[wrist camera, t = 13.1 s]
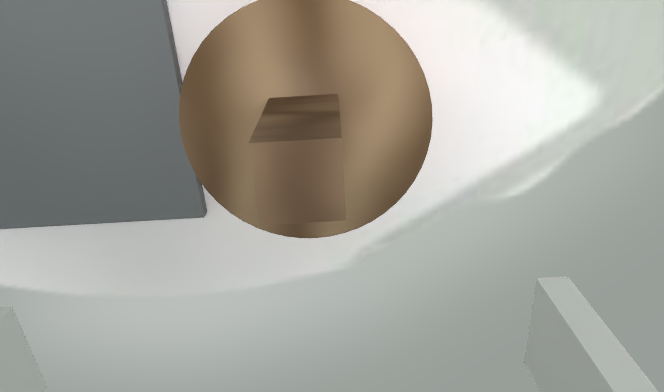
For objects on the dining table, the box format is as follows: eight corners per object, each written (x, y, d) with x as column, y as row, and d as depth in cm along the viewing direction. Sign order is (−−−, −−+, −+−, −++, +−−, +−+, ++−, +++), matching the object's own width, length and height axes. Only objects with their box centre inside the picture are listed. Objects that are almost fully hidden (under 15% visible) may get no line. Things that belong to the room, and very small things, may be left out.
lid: (205, 238, 32) (166, 325, 25) (158, 0, 26) (84, 14, 18) (426, 225, 32) (459, 309, 24) (433, -17, 26) (481, -12, 18)
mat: (-14, 224, 39) (-23, 230, 38) (-110, -3, 31) (-123, -2, 30) (206, 211, 38) (204, 217, 37) (162, -21, 31) (157, -21, 30)
